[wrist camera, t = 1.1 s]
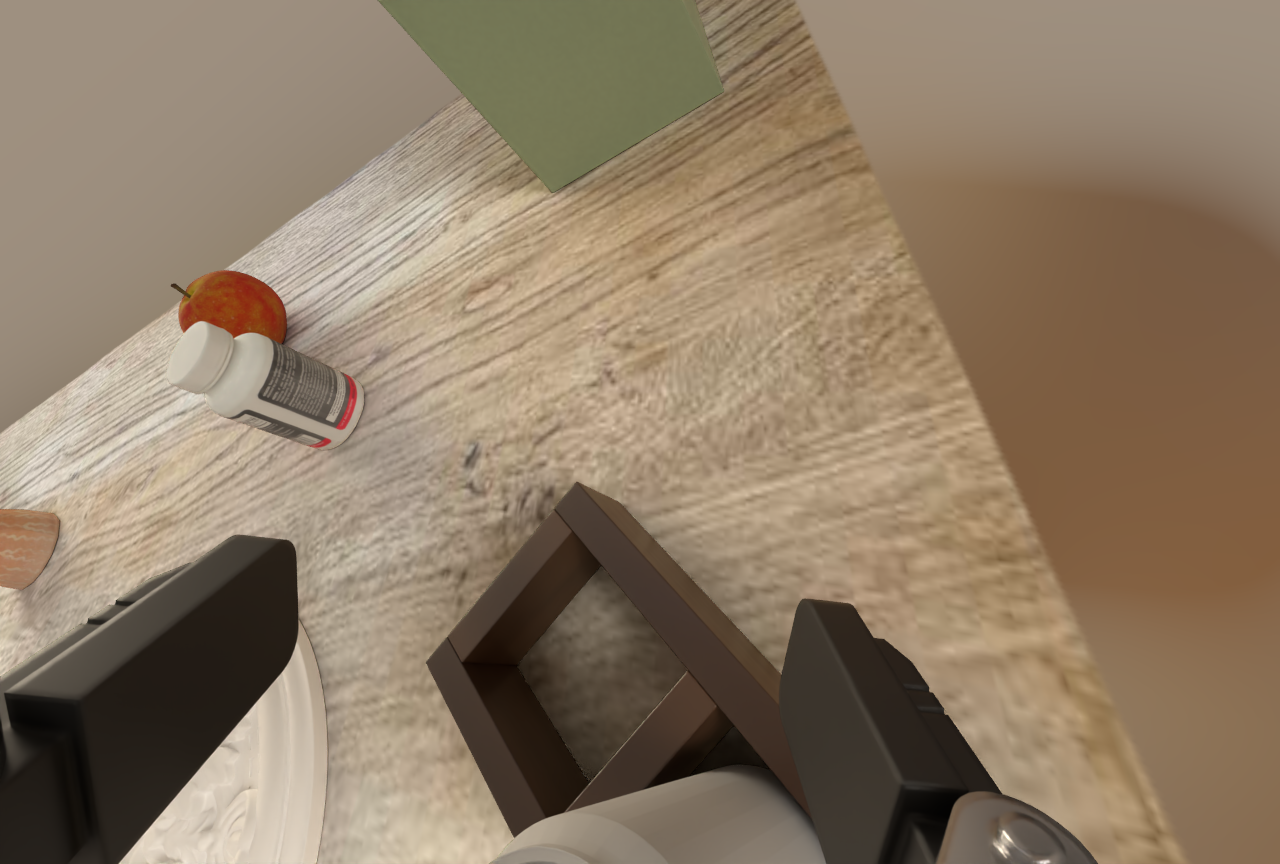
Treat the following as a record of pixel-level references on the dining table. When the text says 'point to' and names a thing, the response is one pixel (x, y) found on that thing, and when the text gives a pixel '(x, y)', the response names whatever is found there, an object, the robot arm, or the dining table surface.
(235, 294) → the fruit
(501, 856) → the beverage can
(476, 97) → the stand
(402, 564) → the dining table surface
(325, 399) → the pill bottle
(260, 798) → the ceiling medallion
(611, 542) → the tray
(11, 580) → the vase
